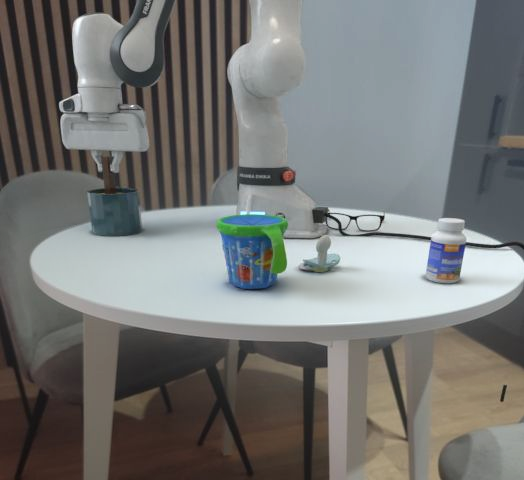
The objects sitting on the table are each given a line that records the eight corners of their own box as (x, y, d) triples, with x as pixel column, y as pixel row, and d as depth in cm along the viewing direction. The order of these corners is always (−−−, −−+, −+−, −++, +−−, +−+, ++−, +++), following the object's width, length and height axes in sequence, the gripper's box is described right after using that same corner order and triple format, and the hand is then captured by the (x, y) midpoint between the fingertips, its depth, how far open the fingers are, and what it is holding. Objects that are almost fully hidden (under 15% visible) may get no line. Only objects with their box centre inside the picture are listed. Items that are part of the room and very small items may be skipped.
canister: (151, 228, 119) (147, 189, 115) (125, 237, 109) (120, 195, 106) (110, 224, 122) (106, 186, 118) (82, 233, 112) (76, 192, 109)
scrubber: (126, 210, 117) (121, 156, 112) (115, 213, 113) (109, 157, 108) (110, 209, 118) (104, 155, 113) (99, 212, 114) (92, 156, 109)
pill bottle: (440, 285, 80) (450, 224, 75) (418, 276, 84) (426, 218, 80) (466, 281, 82) (477, 221, 77) (443, 273, 86) (452, 216, 82)
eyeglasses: (322, 229, 119) (323, 212, 117) (328, 219, 132) (329, 203, 130) (382, 233, 116) (384, 215, 115) (383, 221, 129) (385, 206, 127)
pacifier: (290, 269, 88) (315, 276, 83) (291, 234, 85) (316, 238, 81) (319, 263, 92) (344, 268, 88) (320, 228, 90) (346, 233, 85)
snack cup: (204, 274, 84) (202, 213, 80) (260, 267, 88) (261, 209, 84) (242, 303, 71) (241, 231, 67) (305, 293, 75) (308, 225, 71)
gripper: (152, 104, 106) (156, 173, 112) (71, 104, 111) (79, 169, 117) (136, 103, 100) (142, 175, 106) (52, 103, 106) (62, 171, 112)
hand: (108, 172), depth 112 cm, fingers closed on scrubber, 2 cm apart
